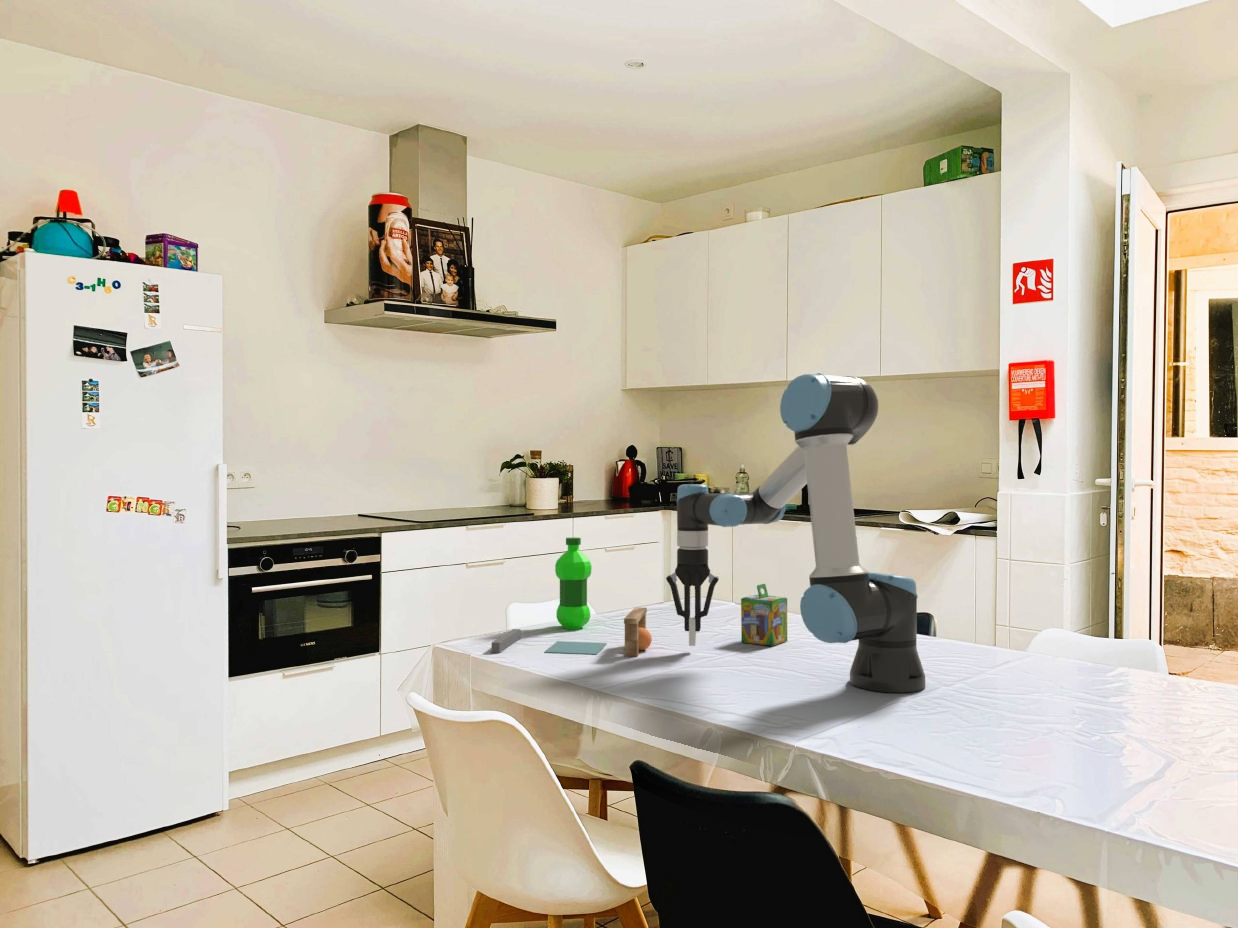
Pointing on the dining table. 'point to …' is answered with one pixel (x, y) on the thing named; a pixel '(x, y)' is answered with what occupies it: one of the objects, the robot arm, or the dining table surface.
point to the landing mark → (575, 647)
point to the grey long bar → (506, 640)
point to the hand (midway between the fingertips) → (692, 644)
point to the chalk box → (763, 618)
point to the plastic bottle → (573, 586)
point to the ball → (644, 638)
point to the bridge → (633, 630)
